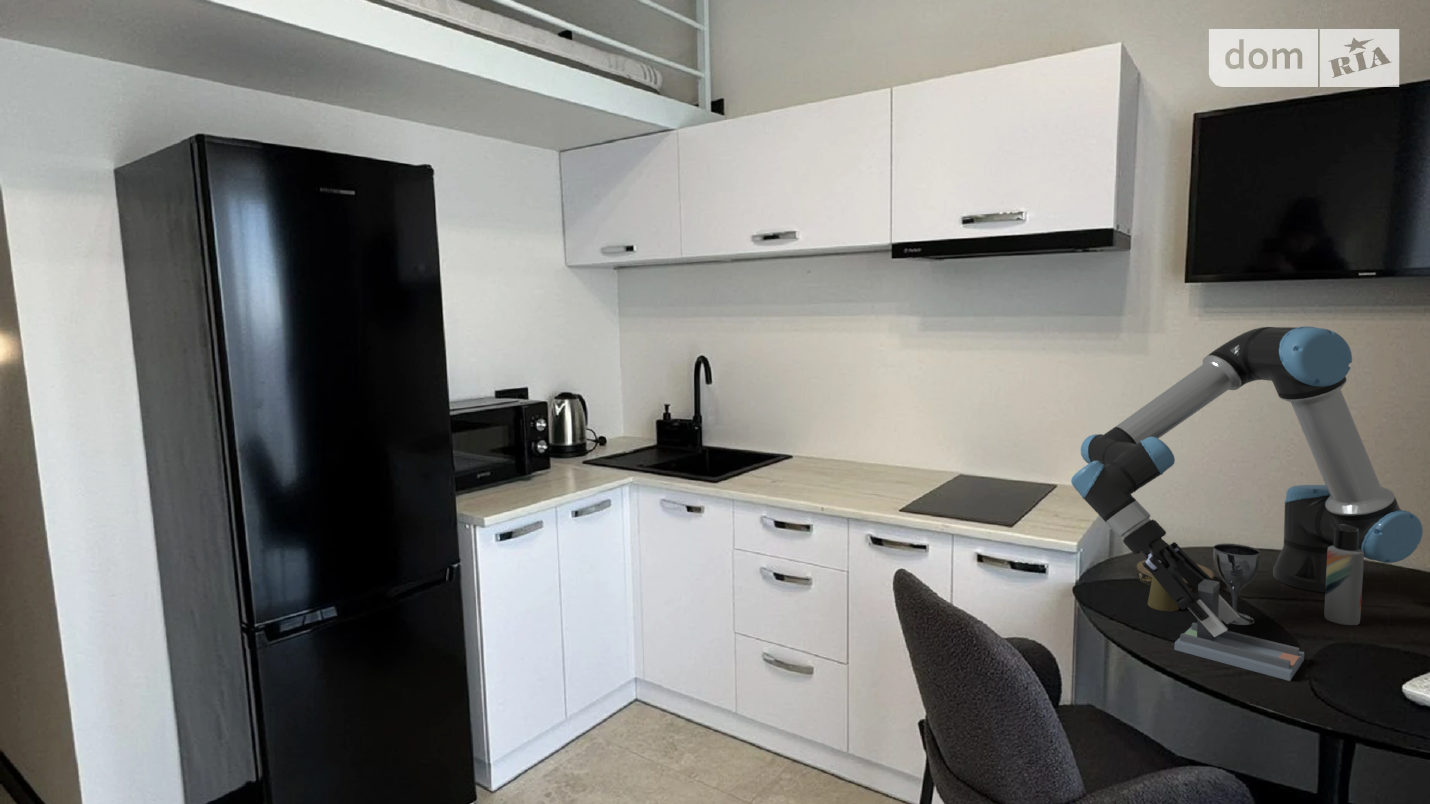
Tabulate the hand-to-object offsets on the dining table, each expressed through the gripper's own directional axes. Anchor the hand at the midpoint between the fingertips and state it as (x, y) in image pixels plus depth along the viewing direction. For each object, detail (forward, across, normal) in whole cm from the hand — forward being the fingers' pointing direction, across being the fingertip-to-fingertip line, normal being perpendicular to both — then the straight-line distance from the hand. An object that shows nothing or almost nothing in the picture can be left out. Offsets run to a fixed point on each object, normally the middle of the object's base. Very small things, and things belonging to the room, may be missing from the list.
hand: (1227, 626), depth 140 cm
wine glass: (+1, -19, -6) cm, 20 cm away
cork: (-7, -16, -15) cm, 23 cm away
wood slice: (-10, -35, -18) cm, 41 cm away
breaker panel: (+5, 0, -2) cm, 5 cm away
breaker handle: (0, 0, -5) cm, 5 cm away
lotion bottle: (+13, -32, +5) cm, 35 cm away
